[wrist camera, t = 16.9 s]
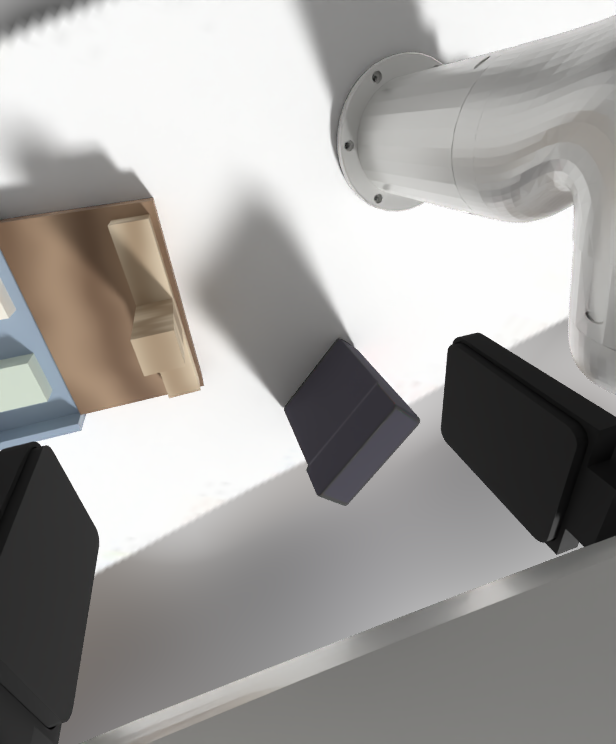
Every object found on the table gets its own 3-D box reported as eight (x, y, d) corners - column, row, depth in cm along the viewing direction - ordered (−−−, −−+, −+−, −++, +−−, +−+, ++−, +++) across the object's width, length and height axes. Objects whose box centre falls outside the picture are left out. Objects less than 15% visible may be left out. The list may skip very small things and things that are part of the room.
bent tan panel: (149, 213, 34) (144, 237, 26) (198, 377, 42) (206, 433, 34) (111, 220, 33) (94, 246, 25) (168, 385, 42) (169, 443, 34)
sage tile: (33, 353, 37) (27, 363, 35) (52, 390, 39) (47, 401, 37) (-16, 363, 36) (-25, 374, 34) (6, 400, 38) (-2, 412, 36)
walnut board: (153, 197, 35) (152, 200, 33) (202, 376, 44) (203, 385, 43) (-3, 219, 33) (-12, 224, 31) (84, 403, 42) (80, 414, 40)
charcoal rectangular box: (305, 419, 51) (351, 510, 39) (278, 406, 49) (317, 498, 37) (360, 351, 49) (428, 424, 36) (334, 333, 47) (396, 405, 34)
